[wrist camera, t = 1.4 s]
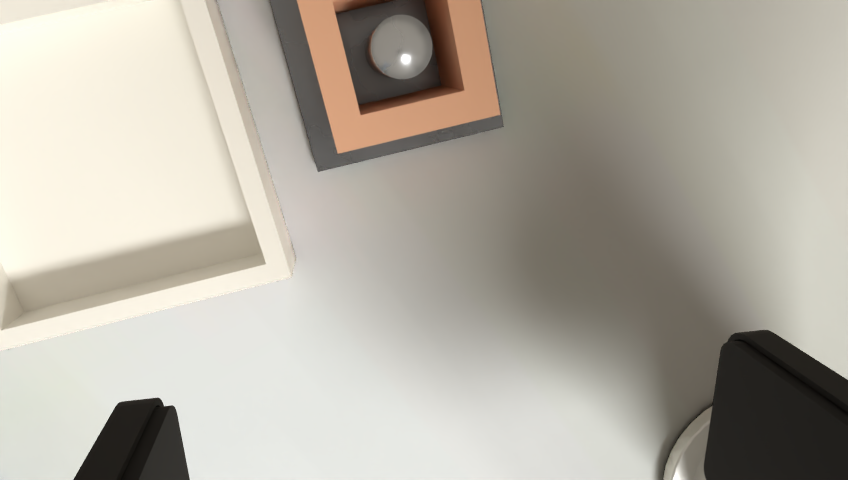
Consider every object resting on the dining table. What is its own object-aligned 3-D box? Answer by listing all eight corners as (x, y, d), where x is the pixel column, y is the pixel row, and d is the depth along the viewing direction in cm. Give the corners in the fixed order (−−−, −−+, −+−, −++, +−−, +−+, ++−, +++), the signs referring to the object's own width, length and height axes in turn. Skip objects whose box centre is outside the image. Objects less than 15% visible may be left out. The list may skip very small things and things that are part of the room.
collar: (443, -41, 28) (468, -67, 22) (470, 105, 30) (500, 114, 25) (300, -9, 28) (289, -27, 22) (338, 136, 30) (337, 153, 24)
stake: (464, -78, 29) (502, -123, 22) (499, 125, 32) (543, 142, 25) (261, -33, 28) (235, -65, 21) (318, 169, 31) (311, 199, 24)
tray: (206, -33, 28) (190, -44, 25) (296, 258, 32) (291, 277, 29) (-119, 37, 27) (-174, 34, 24) (21, 327, 31) (-11, 353, 28)
